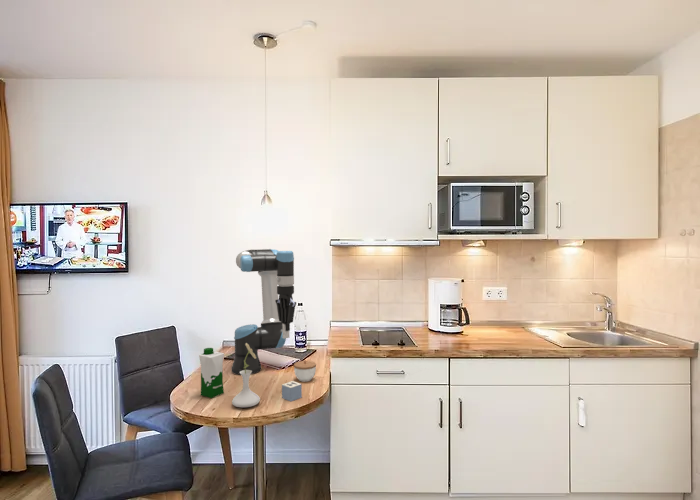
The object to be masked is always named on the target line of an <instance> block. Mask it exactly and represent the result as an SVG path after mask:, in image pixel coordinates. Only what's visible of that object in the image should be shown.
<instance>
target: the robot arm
mask: <svg viewBox="0 0 700 500" xmlns="http://www.w3.org/2000/svg"><path fill="white" fill-rule="evenodd" d="M294 255H295V254H294V251H293V250H278V249H271V248H269V249H267V248H263V249H248V250H244V251H241V252H239V253H238V254H237V255H236V258H235V264H236V266H237V267H238V268H239V269H240V271H241V272H246V273H252V272H253V273H254V272H257V274H258V275H259V277H260V280H261V281H260V282H261V299H262V315H263V316H262V318H263V320H262V321H261V323H260V326H258V325H257V324H246V325H241V326H239V327H237V328H236V329H234V330H235V331H234V337H233V339H234V358H233V362H232V365H231V369H230V370H231V374H233V375H239V376H242V375H241V374H240V373H239V372H240V371H242V370H245V368H244V367H245V366H246V365H245V366H244V360H245V358H246V360H245V362H246V364H247V365H249V366H248V367H246V370H251V371H252V372H251V374H250V375H253V374H257V373H259V372H260V371H262V364H261V360H260V358H259V355H258V354H259V353H258V350H268V349H278V348H282V347H284V346H285V343H286V342H287V341H286V340H287V339H289V338H290V336H291V335H290V331H291V330H290V329H291V325H290V324H291V323H294V318H295V317H294V316H295V309H296V306H297V301H294V300H293V295H294V294H295V286H294V284H295V271H294V269H295V268H294V267H295V266H294V265H295V263H294V262H295V256H294ZM246 343H247V344H248V345H249V347H250V349H252V350H253V351H252V352H253V353H254V354H255V355H256V359H255V358H254V357H253V356H252V355H251V354H250V353H248V349H247V347H246V345H245V344H246ZM247 353H248V355H247ZM246 355H247V357H246Z"/></svg>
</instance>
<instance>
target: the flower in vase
mask: <svg viewBox="0 0 700 500" xmlns="http://www.w3.org/2000/svg"><path fill="white" fill-rule="evenodd" d="M245 345H246V347H247V349H248V353H250V354H251V355H252V356H253V357H254V358H255V359H256V355H255V354H254V353H253V352H252V351H253V350H252V349H250V347H249V345H248V344H247V343H246V344H245ZM248 353H247V355H248ZM247 355H246V357H247ZM245 360H246V358H245ZM245 360H244V366H245V365H246V366H245V367H244V368H245V370H242V371H240V372H239V373H240V374H241V375H240V376H241V377H242V378H241V379H242V389H241V391H240V392H238V393H237V394H236V395H235V396H234V397H233V399H232V401H231V404H232V406H234V407H237V408H251V407H254V406H256V405H258V404H259V402H260V401H261V398H260V396H259V395H258V394H257V393H255V392H254V391H253V390H251V389H250V385H249V383H250V382H249V380H250V376H251V375H252V374H251V372H252V371H251V370H246V367H248V366H249V365H247V364H246V362H245Z"/></svg>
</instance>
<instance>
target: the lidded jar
mask: <svg viewBox="0 0 700 500" xmlns="http://www.w3.org/2000/svg"><path fill="white" fill-rule="evenodd" d="M293 368H294V369H293V371H294V375H295V378H297V380H298V381H299V382H303V383H306V382H311V381H312V379H313V378H314V377H315V375H316V372H317V363H316V362H315V361H312V360H302V361H301V360H300V361H297V362H294V363H293Z"/></svg>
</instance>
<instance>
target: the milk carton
mask: <svg viewBox="0 0 700 500" xmlns="http://www.w3.org/2000/svg"><path fill="white" fill-rule="evenodd" d="M224 357H225V353H223V352H220V351H214V348H213V347H206V348H203V353H200V354H198V358H199V363H200V396H202V397H205V398H209V399H212V398H216V397H218V396H220V395H224V393H225V392H224V391H225V390H224V379H223V378H224V377H223V374H224V373H223V366H224V365H223V362H224Z"/></svg>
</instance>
